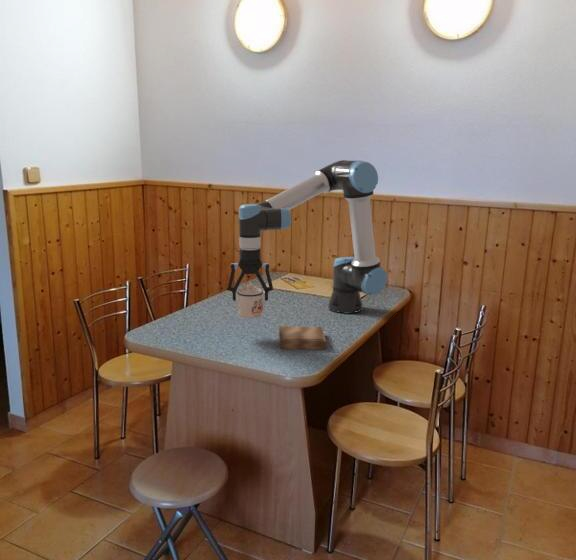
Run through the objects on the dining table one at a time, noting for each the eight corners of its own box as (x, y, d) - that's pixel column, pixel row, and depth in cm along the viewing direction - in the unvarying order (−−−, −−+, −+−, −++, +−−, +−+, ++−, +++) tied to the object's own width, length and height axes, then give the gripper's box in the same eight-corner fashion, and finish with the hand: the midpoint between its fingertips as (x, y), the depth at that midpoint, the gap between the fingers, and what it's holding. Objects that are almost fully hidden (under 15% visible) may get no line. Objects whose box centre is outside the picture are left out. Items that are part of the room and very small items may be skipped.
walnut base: (321, 334, 207) (321, 326, 206) (325, 349, 191) (326, 340, 191) (278, 333, 206) (279, 325, 205) (279, 348, 191) (280, 339, 190)
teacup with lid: (255, 320, 194) (254, 288, 191) (233, 316, 198) (232, 285, 195) (271, 311, 204) (271, 280, 202) (250, 308, 208) (250, 278, 206)
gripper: (280, 246, 199) (280, 305, 205) (220, 246, 199) (221, 306, 204) (280, 250, 192) (280, 311, 197) (218, 250, 191) (219, 312, 197)
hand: (250, 308), depth 201 cm, fingers closed on teacup with lid, 9 cm apart
